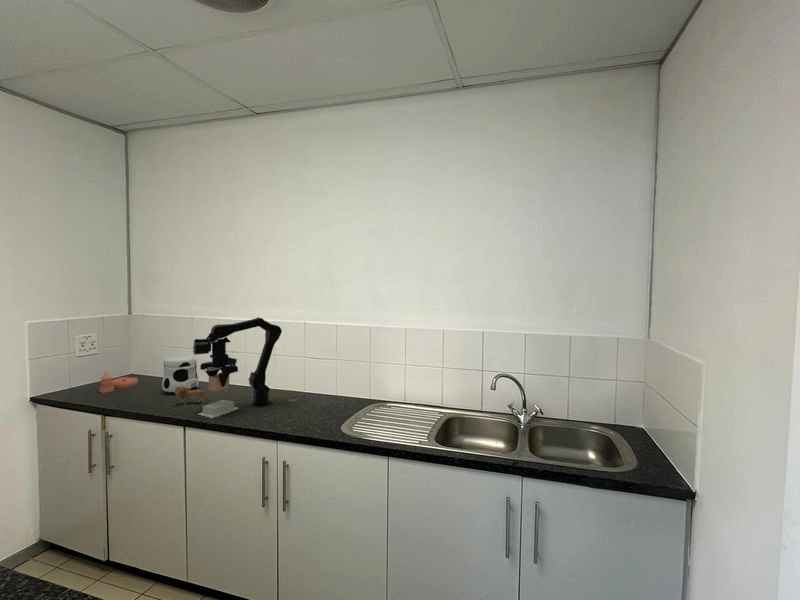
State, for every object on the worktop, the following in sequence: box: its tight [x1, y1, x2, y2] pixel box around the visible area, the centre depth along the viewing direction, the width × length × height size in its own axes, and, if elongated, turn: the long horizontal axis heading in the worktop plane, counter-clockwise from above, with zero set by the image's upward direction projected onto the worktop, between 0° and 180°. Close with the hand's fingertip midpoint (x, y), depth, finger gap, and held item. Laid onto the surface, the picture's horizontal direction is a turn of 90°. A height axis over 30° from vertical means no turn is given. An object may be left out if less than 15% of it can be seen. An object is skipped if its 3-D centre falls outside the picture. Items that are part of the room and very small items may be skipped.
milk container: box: [161, 355, 199, 394], centre depth 212 cm, size 17×17×18 cm
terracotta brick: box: [208, 374, 230, 392], centre depth 180 cm, size 5×7×6 cm
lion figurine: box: [174, 386, 209, 406], centre depth 191 cm, size 15×5×9 cm, turn 110°
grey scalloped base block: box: [198, 399, 239, 419], centre depth 179 cm, size 9×14×4 cm, turn 155°
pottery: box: [98, 372, 139, 394], centre depth 216 cm, size 18×10×10 cm, turn 169°
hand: (219, 386), depth 180 cm, fingers closed on terracotta brick, 5 cm apart
